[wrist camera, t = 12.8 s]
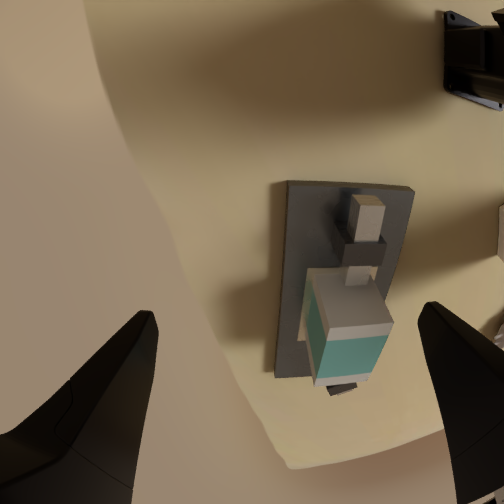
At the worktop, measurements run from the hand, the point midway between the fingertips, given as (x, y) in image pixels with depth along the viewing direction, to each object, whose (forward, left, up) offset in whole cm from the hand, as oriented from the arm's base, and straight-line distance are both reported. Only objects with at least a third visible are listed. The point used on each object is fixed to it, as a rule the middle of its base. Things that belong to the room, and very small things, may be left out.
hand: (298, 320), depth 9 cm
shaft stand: (-6, +10, -12) cm, 17 cm away
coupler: (-6, +10, -11) cm, 16 cm away
